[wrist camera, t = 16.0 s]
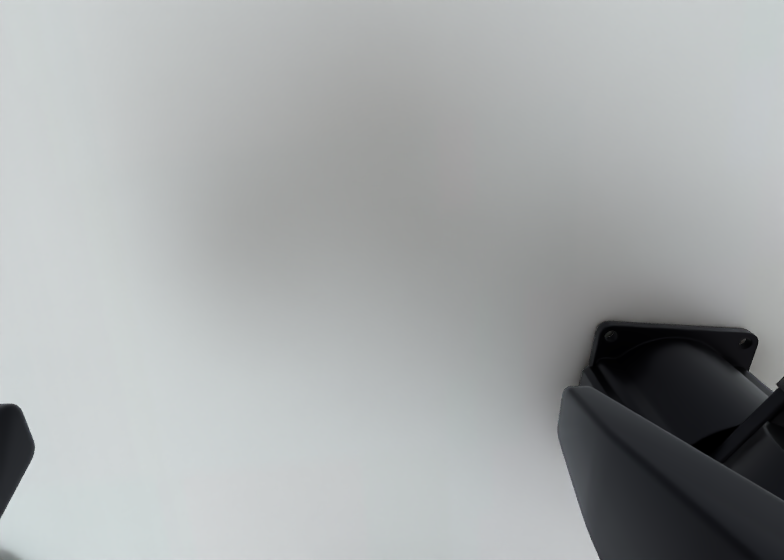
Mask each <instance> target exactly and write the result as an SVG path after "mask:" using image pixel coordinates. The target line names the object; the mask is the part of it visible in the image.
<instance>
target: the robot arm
mask: <svg viewBox="0 0 784 560" xmlns="http://www.w3.org/2000/svg"><path fill="white" fill-rule="evenodd" d="M609 331H614V333H613V335H611V336H610V337H605V335H606V333H607V332H609ZM743 339H746V340H745V342H744V343H742V344H740V345H739V343H740V341H741V340H743ZM757 346H758V338H757V336H755V335H754V334H753V333H751V332H750V331H748V330H746V329H739V328H722V327H704V326H686V325H668V324H651V323H633V322H615V321H607V322H604V323H602V324H600V325H599V326H598V327H597V329H596V332H595V337H594V342H593V346H592V351H591V356H590V361H589V365H588V366H587V367H586V368H585V369H584V370H583V371H582V374H581V379H580V384H579V386H570V387H567V388H566V389H564V392H563V394H562V400H561V407H560V413H559V420H558V438H559V442H560V445H561V449H562V452H563V455H564V458H565V461H566V465H567V468H568V471H569V474H570V477H571V481H572V484H573V487H574V490H575V493H576V497H577V500H578V503H579V506H580V509H581V513H582V516H583V518H584V521H585V524H586V527H587V530H588V532H589V535H590V537H591V540H592V542H593V544H594V547H595V549H596V551H597V554H598V556H599V558H600V560H784V377H783V378H782V379H781V380H780V381H779V382H778V383H777V384H776V385H777V386H778V388H777V389H776V390H775V391H774V392H773V391H772V390H770V389H769V388H768V387H767V386H766V385H764V384H763V383H762V382H761V381H759V380H758V379H757V378H756V377H755V376H753V375H752V374H751V373H750V372H749V369H750V366H751V363H752V360H753V357H754V354H755V351H756V348H757ZM34 450H35V444H34V440H33V438H32V435H31V432H30V430H29V427H28V425H27V422H26V420H25V417H24V415H23V412H22V410H21V408H19V407H18V406H17V405H15V404H0V518H1V516H2V514H3V513H4V511H5V509H6V507H7V505H8V503H9V501H10V499H11V498H12V496H13V494H14V492H15V490H16V488H17V486H18V484H19V483H20V481H21V479H22V477H23V475H24V473H25V471H26V469H27V468H28V466H29V464H30V462H31V460H32V458H33V455H34Z"/></svg>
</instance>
